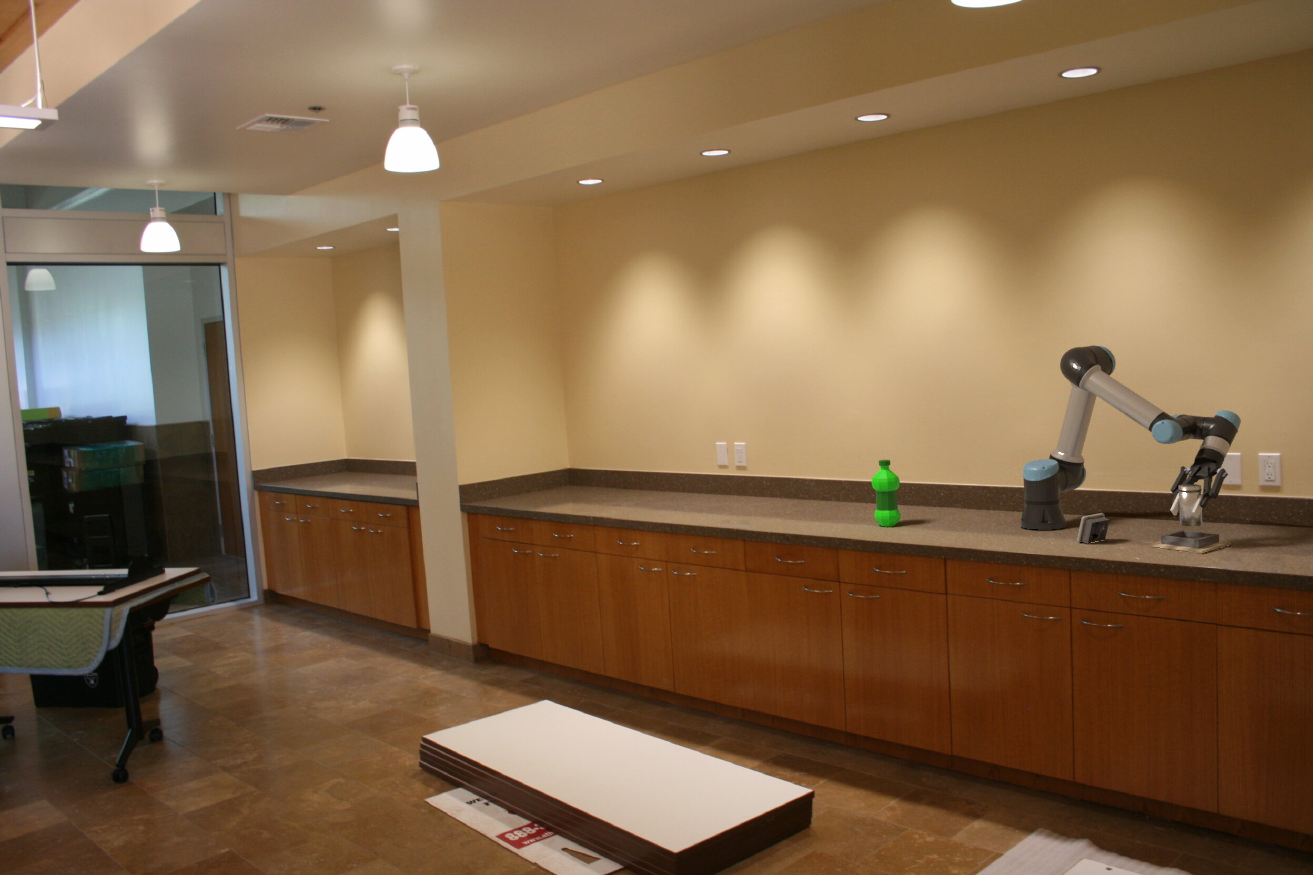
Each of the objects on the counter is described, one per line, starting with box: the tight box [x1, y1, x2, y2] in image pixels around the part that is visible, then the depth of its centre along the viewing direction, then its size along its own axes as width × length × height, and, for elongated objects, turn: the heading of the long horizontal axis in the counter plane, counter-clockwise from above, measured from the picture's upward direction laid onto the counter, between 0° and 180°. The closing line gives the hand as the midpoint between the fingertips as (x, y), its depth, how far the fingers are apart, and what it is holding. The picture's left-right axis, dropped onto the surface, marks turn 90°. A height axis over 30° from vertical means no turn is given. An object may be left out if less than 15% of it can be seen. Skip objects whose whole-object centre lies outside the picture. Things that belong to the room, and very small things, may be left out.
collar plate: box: [1149, 529, 1232, 552], centre depth 294 cm, size 16×16×4 cm
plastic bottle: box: [871, 459, 902, 528], centre depth 363 cm, size 10×10×25 cm
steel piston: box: [1178, 483, 1203, 527], centre depth 293 cm, size 6×6×12 cm
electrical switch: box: [1076, 512, 1110, 545], centre depth 309 cm, size 9×5×9 cm, turn 113°
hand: (1184, 513), depth 291 cm, fingers closed on steel piston, 6 cm apart
